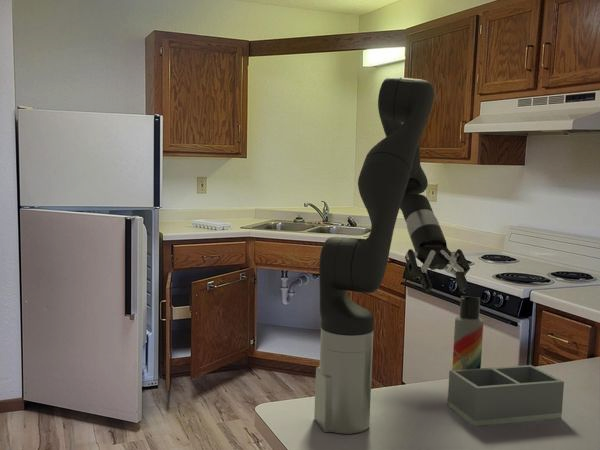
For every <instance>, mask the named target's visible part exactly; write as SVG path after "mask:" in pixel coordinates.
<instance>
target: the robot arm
mask: <svg viewBox="0 0 600 450" xmlns="http://www.w3.org/2000/svg"><path fill="white" fill-rule="evenodd" d="M378 92H379V93H378V98H377V99H378V100H377V108H378V109H377V111H378V115H379V119H380V122H381V125H382V128H383V131H384V135H385V137H384V138H383V139H381V140H380V141H378V142H377V143H376V144H375V145H374V146H372V148H371V149H370V150H369V151H368V152H367V154H366V156H365V159H364V161H363V164H362V167H361V170H360V172H359V175H358V180H357V188H358V192H359V196H360V198H361V201H362V202H363V205H364V208H365V209H366V211H367V214H368V216H369V217H368V218H369V219H370V220H369V221H370V223H371V226H370V232H369V235H368V236H367V237H366V238H356V237H346V236H345V237H344V236H330V237H329V238H327V239H326V240H325V241H324V242H323V244H322V247H321V249H320V255H319V264H318V267H319V269H318V270H319V271H318V273H319V274H318V275H319V276H318V277H319V280H318V281H319V283H318V284H319V315H320V319H321V321H320V344H319V346H320V347H319V350H320V351H319V366H317V367H316V368H315V383H314V384H315V389H314V413H313V414H314V420H315V421H316V423H317V424H318V425H319V427H320V428H321V430H322V431H323V432H325V433H326V432H328V433H329V432H332V433H337V434H345V435H346V434H349V435H350V434H357V433H358V434H359V433H362V432H364V431H366V430H367V429H368V428H369V426H370V422H371V421H370V420H371V400H372V399H371V397H372V396H371V394H372V376H373V375H372V373H373V353H374V352H373V349H374V329H375V327H374V326H375V325H374V324H375V317H374V315H373V313H372V312H371V311H369V310H368V309H366V308H364V307H362V306H360V305H358V304H357V303H356V302H355V301H354V300H352V299H351V297H350V296H349V295H348V292H355V293H364V294H368V293H369V294H370V293H375V292H376V291H377V290H379V288H380V286H381V285H382V282H383V280H384V277H385V273H386V270H387V265H388V260H389V255H390V250H391V246H392V245H391V244H392V240H393V235H394V231H395V228H396V227H395V226H396V222H397V219H398V215H399V212H400V211H401V213H402V215H403V219H404V221H405V223H406V229H407V232H408V235H409V238H410V241H411V243H412V247H413V249H408V251H407V252H406V254H405V255H404V259H405V263H406V266H407V270H408V274H409V276H410V277H417V278H418V279H419V280H420V281H419V282H420V284H421V287H422V288H423V290H424V291H425V292H428V293H429V292H431V291H432V289H433V284H432V281H431V278H430V275H429V273H428V272H427V271H428V269H430V271H434V270H440V271H441V270H442V271H443V270H444V271H445V272H447V273H448V274H451V275H452V276H454V277H455V278H454V279H455V280H456V281H455V282H456V283H457V286H458V289H459V291H460V292H464V291H465V290H466V289H467V287H468V285H469V283H468V280H467V278H466V275H467V273H468V272H469V271H470V270H471V267H470V265H469V263H468V261H467V259H466V257H465V255H464V253H463V250H461V249H460V248H458V249H456V250H455V251H451V250H450V249H449V248H448V246H447V245H448V243H447V240H446V238H445V235H444V233H443V231H442V227H441V226H440V225H441V224H440V223H439V221H438V218H437V216H436V215H435V213H434V211H433V209H432V206H431V203H430V201H429V199H428V198H427V196H426V195H423V193H425V191H426V190H427V187H428V184H429V183H428V178H427V176H426V173H425V171H424V170H423V168H422V166H421V150H420V149H421V148H420V144H419V143H420V140H421V137H422V134H423V132H424V129H425V128H426V125H427V121H428V119H429V117H430V114H431V110H432V108H433V104H434V95H435V94H434V93H435V91H434V87H433V85H432V83H431V82H430V81H429V80H425V79H421V78H420V79H419V78H411V77H399V76H390V77H385V79H383V80H382V83H381V84H380V88H379V91H378ZM417 260H418V261H419V262H420V263H422V265H421V268H419V266H418V262H417ZM449 264H450V265H449ZM347 291H348V292H347Z"/></svg>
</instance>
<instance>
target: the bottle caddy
mask: <svg viewBox="0 0 600 450" xmlns="http://www.w3.org/2000/svg"><path fill="white" fill-rule="evenodd" d="M564 387H565V381H563V380H562V379H560V378H557V377H556V376H553V375H552V374H550V373H548V372H545V371H544V370H541V369H540V368H538V367H536V366H534V365H532V364H527V365H514V366H513V365H512V366H511V365H509V366H499V367H497V366H496V367H484V368H483V367H482V368H479V369H464V370H452V369H451V370H449V373H448V392H447V407H449V408H450V409H451V410H453V411H454V412H456V414H458V415H459V416H460V417H461V418H463V419H465V421H467V422H468V423H469V424H471V425H472V426H473V427H481V426H493V425H502V424H512V423H522V422H523V423H524V422H532V421H534V422H535V421H542V420H545V421H546V420H553V419H554V420H555V419H562V415H563V414H562V412H563V402H564V401H563V400H564Z"/></svg>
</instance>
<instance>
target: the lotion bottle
mask: <svg viewBox="0 0 600 450" xmlns="http://www.w3.org/2000/svg"><path fill="white" fill-rule="evenodd" d="M480 306H481V297H475V296H467V295H460V307H459V315H458V316H456V317H455V318H454V330H453V331H454V333H453V349H452V350H453V351H452V366H451V367H452V369H451V370H464V369H479V368H481V367H482V353H483V337H484V334H483V333H484V320H483V319H482V318H481V317H480V309H481V308H480Z"/></svg>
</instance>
